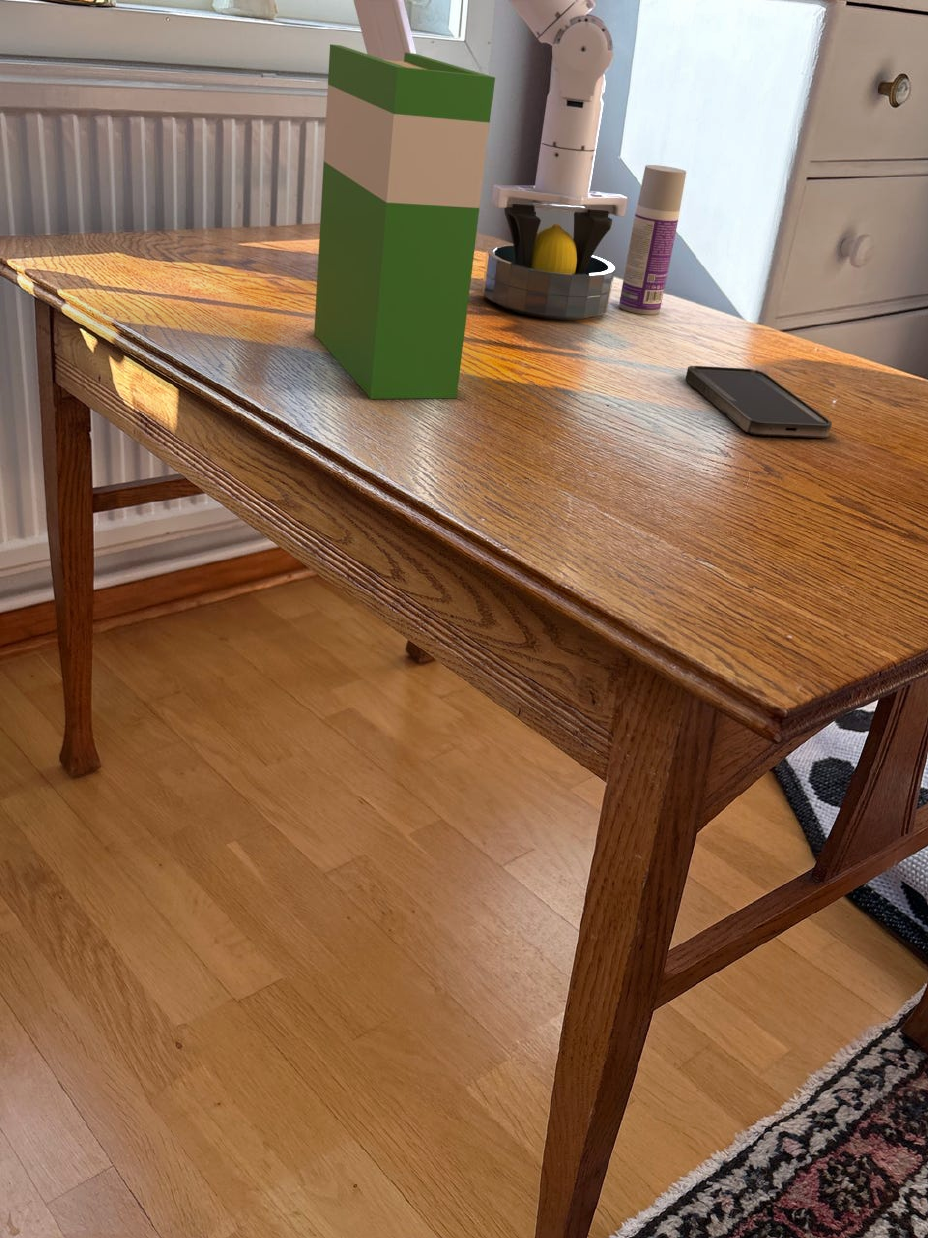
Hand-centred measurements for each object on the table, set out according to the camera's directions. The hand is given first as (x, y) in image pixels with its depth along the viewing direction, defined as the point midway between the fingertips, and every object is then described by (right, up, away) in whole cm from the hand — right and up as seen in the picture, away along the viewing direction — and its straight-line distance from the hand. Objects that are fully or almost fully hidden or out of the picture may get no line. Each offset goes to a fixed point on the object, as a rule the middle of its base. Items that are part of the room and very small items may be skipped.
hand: (548, 279), depth 123 cm
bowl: (0, -2, +1) cm, 3 cm away
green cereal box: (-16, -15, -24) cm, 33 cm away
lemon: (0, -2, +1) cm, 2 cm away
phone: (+16, -18, -23) cm, 33 cm away
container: (+11, -2, +5) cm, 12 cm away
